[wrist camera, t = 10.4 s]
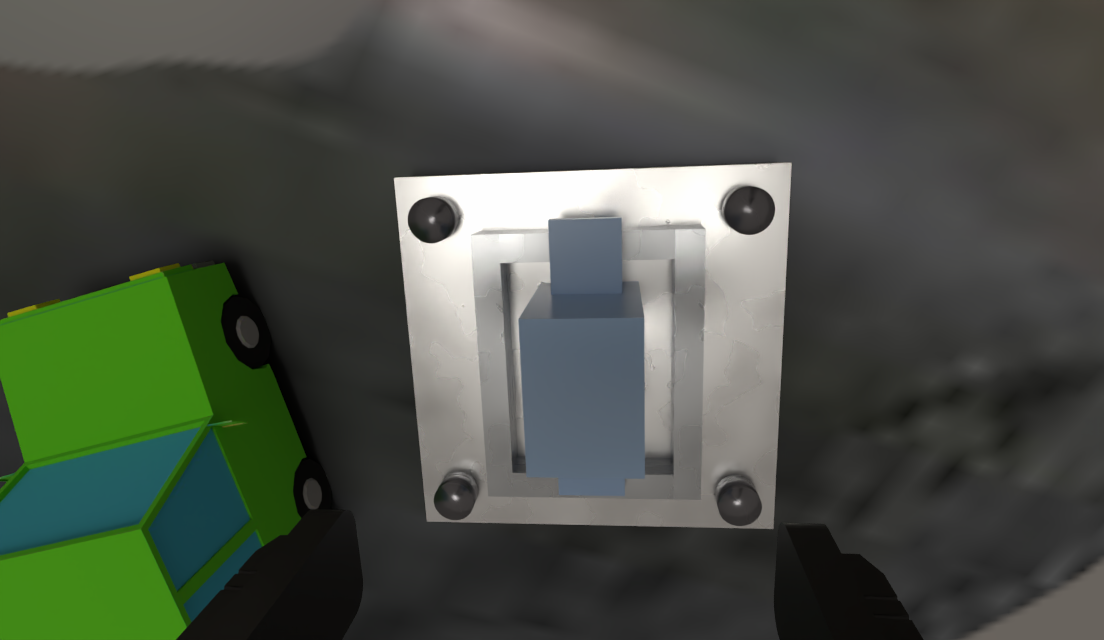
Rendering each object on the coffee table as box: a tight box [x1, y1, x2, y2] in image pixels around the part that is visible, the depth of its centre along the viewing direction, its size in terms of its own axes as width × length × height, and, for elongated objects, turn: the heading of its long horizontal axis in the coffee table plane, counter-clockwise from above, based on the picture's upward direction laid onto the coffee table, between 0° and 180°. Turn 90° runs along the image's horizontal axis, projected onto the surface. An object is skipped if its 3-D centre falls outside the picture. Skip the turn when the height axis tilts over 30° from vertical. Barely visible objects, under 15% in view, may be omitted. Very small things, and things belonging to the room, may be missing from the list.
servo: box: [518, 217, 645, 496], centre depth 22 cm, size 10×4×6 cm, turn 2°
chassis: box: [394, 162, 792, 529], centre depth 25 cm, size 14×14×3 cm
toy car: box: [0, 261, 331, 640], centre depth 24 cm, size 10×13×10 cm
